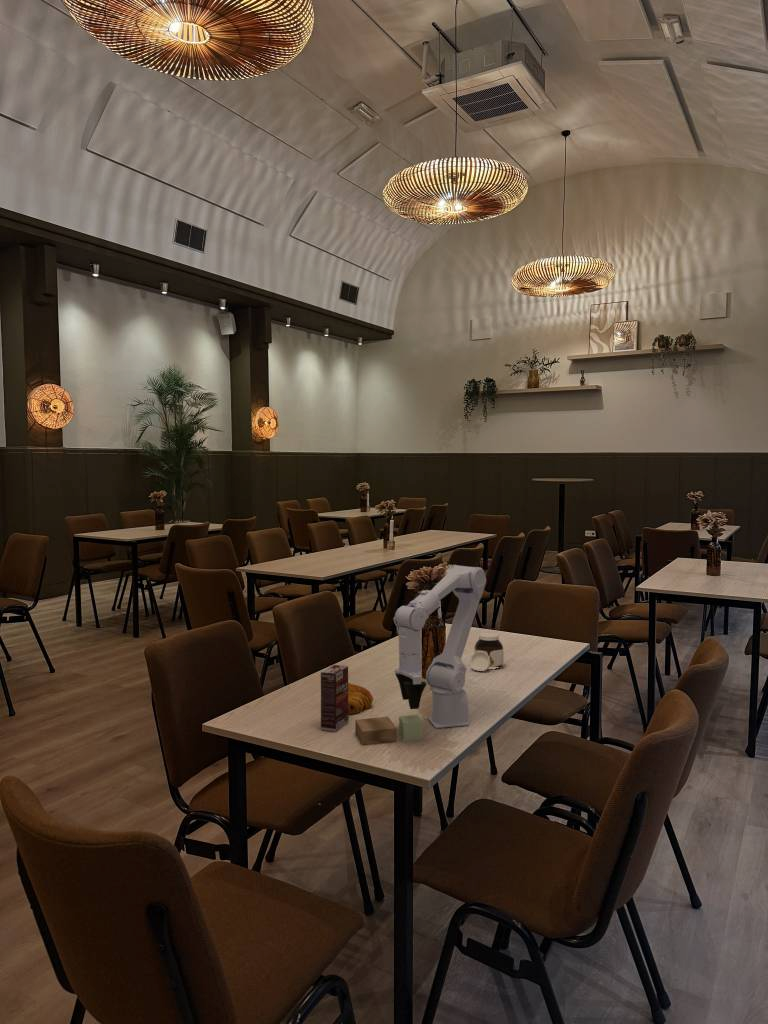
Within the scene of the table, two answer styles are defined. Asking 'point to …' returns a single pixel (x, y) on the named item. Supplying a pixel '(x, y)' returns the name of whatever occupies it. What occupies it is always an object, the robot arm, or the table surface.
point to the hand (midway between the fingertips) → (410, 703)
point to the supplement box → (334, 698)
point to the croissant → (358, 699)
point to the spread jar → (487, 652)
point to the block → (375, 731)
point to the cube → (410, 728)
